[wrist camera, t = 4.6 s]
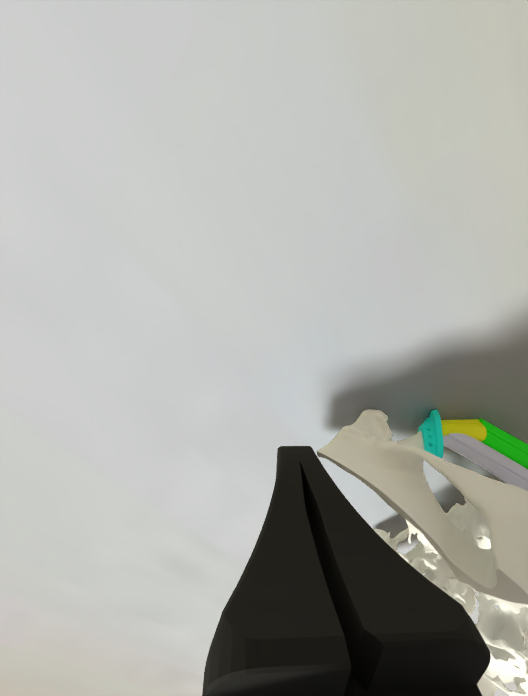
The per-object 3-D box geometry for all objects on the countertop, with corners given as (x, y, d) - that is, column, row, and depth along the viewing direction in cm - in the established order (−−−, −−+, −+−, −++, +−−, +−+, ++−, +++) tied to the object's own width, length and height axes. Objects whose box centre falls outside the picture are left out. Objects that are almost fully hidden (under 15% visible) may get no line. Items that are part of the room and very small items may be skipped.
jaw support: (573, 579, 16) (559, 816, 10) (406, 498, 22) (338, 618, 17) (644, 394, 12) (691, 631, 6) (410, 354, 18) (317, 450, 12)
